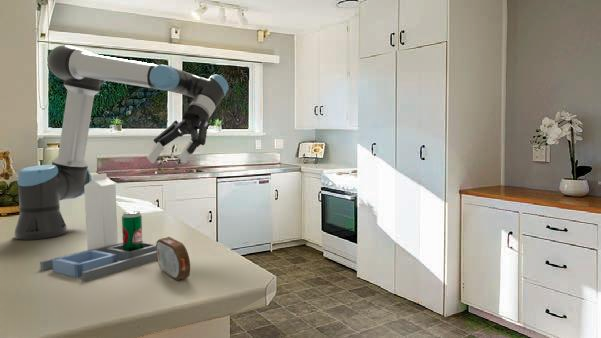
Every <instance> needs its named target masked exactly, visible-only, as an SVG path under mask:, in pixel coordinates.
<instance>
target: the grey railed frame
mask: <svg viewBox="0 0 601 338" xmlns="http://www.w3.org/2000/svg"><path fill="white" fill-rule="evenodd" d="M153 261H154V262H155V261H157V249H156V243H151V242H146V241H143V248H142V249H138V250H134V251H124V250H123V241H121V242H118V243H116V244H112V245H108V246H103V247H99V248H95V249H91V250H87V249H86V250H84V251H80V252H75V253H71V254H67V255H63V256H58V257H55V258H51V259H46V260H45V259H44V260H42V261H39V264H40V265H39V266H40V271H47V270H50V269H52V272H54V273H59V274H62V275H65V276H70V277H73V278H74V277H75V278H77V279H79V278H81V281H82V282H88V281H92V280H95V279H97V278H101V277H104V276H108V275H111V274H114V273H117V272H121V271H124V270H127V269H131V268H134V267H137V266H141V265H144V264H147V263H151V262H153Z"/></svg>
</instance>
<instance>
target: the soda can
mask: <svg viewBox="0 0 601 338" xmlns="http://www.w3.org/2000/svg"><path fill="white" fill-rule="evenodd" d="M122 214H123V215H122V216H121V228H122V229H121V230H122V232H121V233H122V242H123V250H124V251H134V250H138V249H142V248H143V242H144V241H143V240H144V239H143V218H142V217H143V216H142V215H141V214H142V213H141V211H137V210H130V211H124V212H123V213H122Z"/></svg>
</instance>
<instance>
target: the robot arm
mask: <svg viewBox="0 0 601 338" xmlns="http://www.w3.org/2000/svg"><path fill="white" fill-rule="evenodd" d="M47 66H48V68H49V70H50V72H51V73H52V75H54V76H55V77H57V78H58V79H61V80H63V87H65V89H66V90H67V92H66V93H67V94H66V99H65V106H64V111H63V119H62V127H61V133H60V139H59V140H60V141H59V147H58V155H57V156H56V157H55V158H54V159H52V160H51V164H41V165H34V166H28V167H24V168H21V169H20V170H18V173H17V190H18V203H19V205H18V207H19V216H18V219H17V223H16V226H15V228H14V239H15V240H20V239H21V240H23V241H26V240H27V241H30V240H31V241H32V240H42V239H50V238H55V237H56V238H57V237H59V236H63V235H65V234H67V232H68V230H67V229H68V228H67V224H66V223H65V220H64V217H63V215H62V213H61V209H60V208H61V207H60V206H61V205H60V201H64V200H69V199H70V200H71V199H76V198H79V197H81V196H83V195H84V196H85V190H84V186H85V185H86V184H88V183H89V182H90V181H92V180H93V179H92V176H93V175H92V174H91V173H90V170H89V169H88V168H89V165H88V162H87V161H85V157H86V156H85V155H86V151H87V144H88V138H89V137H88V136H89V131H90V124H91V116H92V111H93V110H92V109H93V104H94V100H95V99H94V98H95V95H97V94H98V93H100V91H101V90H100V89H101V86H102V85H104V84H105V83H106V82H112V83H118V84H124V85H129V86H135V87H137V86H138V87H143V88H149V89H154V90H160V91H165V92H172V93H175V94H179V95H184V96H188V97H190V98H193V100H192V101H191V102H190V104H189V105H188V107H187V108H186V109H185V111H184V112H183V120H181V121H180V122H178V120H174V121H173V122H172V123H171V124H170V126H168V127H167V128H166V129H165V130H163V131H162V132H161V133H160V134H159V135H157V136H156V137H154V139H153V142H154V143H155V145H154V146H153V147H152V149H151V151H150V152H149V153H148V155H147V156H146V159H147V160H149V162H150V164H154V163H155V162H156V161H157V159H158V157H160V155H161V153H162V152H163V151H164V149H165V146H166V145H168V144H169V143H171V142H173V141H174V140H176V139H177V138H179V137H180V138H181V137H183V136H184V135H190V137H191V138H190V141H188V142H187V144H186V145H185V147H184V148H183V150H182V151H181V153H180V154H179V155H178V157H177V158H178V160H180V162H181V163H182V164H184V165H185V164H186V163H187V162H188V160H190V159H189V158H190V157H191V156H192V154H194V152H195V151H196V150H197V148H198V147H200V146H205V144H206V141H207V140H206V139H207V133H208V129H209V127H210V123H209V122H208V121H209V119H210V118H211V116H212V114H213V113H214V111H215V110H216V109H217V107H218V105H219V104H220V103H221V101H222V100H223V99H224V98H225V96H226V94H227V92H228V90H229V84H228V81H227V80H226V79H225V78H224V77H223V76H222V75H220V74H212V75H210V76H209V77H208V78H205V77H202V76H198V75H195V74H193V73H190V72H186V71H185V70H181V69H178V68H175V67H172V66H171V65H167V64H155V63H147V62H144V61H143V62H142V61H137V60H131V59H130V60H128V59H124V58H117V57H111V56H104V55H99V54H97V53H95V52H93V51H90V50H85V49H81V48H79V47H75V46H72V45H67V44H66V45H65V44H64V45H63V44H62V45H58V46H56V47H54V48H53V49H51V51H50V52H49V54H48V57H47Z"/></svg>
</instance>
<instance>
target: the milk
mask: <svg viewBox="0 0 601 338" xmlns="http://www.w3.org/2000/svg"><path fill="white" fill-rule="evenodd" d="M91 176H92V181H90V182H89V183H88V184H86V185H85V186H84V190H85V194H84V208H85V226H86V227H85V229H86V230H85V231H86V232H85V233H86V248H87V249H86V251H87V250H91V249H95V248H99V247H103V246H108V245H112V244H116V243H119V240H118V239H119V238H118V216H117V215H118V214H117V192H116V191H117V190H116V188H117V187H116V183H114V181H112V180H110V179H108V178H107V173H97V174H92V175H91Z"/></svg>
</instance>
